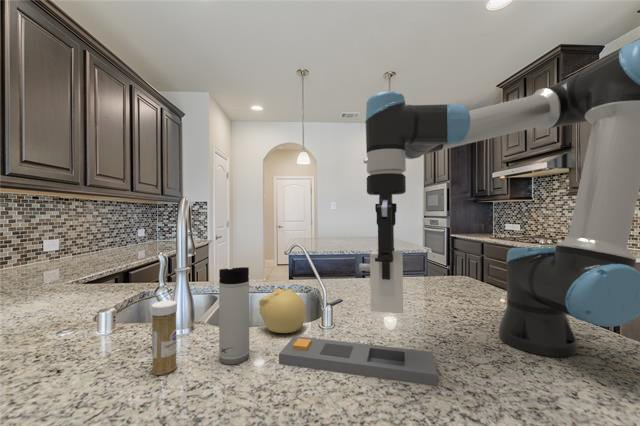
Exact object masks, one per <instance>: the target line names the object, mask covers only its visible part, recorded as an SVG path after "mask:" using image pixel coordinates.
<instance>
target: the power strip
mask: <svg viewBox="0 0 640 426" xmlns="http://www.w3.org/2000/svg"><path fill="white" fill-rule="evenodd" d="M434 357H435V355H434V352H433V351H429V350H428V351H427V350H418V349H410V348H403V347H402V348H401V347H394V346H385V345H375V344H368V343H367V344H366V343H358V342H348V341H341V340H332V339H323V338H314V337H305V336H299V335H298V336H296V335H294V336H293V337H292V338H291V339H290V340H289V342H287V344H286V345H285V346H284V347H283V348H282V349H281V351H280V352H279V353H278V365H285V366H292V367H298V368H307V369H313V370H319V371H320V370H321V371H327V372H334V373H341V374H347V375H355V376H361V377H368V378H375V379H381V380H389V381H395V382H403V383H411V384H417V385H424V386H425V385H426V386H429V387H430V386H431V387H438V372H437V366H436V361H435V358H434Z"/></svg>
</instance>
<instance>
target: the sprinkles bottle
mask: <svg viewBox="0 0 640 426" xmlns="http://www.w3.org/2000/svg"><path fill="white" fill-rule="evenodd" d="M177 305H178V304H177V302H176V301H175V300H170V299H169V300H161V301H157V302H155V303H152V304H151V308H150V314H151V318H152V321H151V323H152V324H151V325H152V326H151V356H152V357H151V358H152V364H151V365H152V369H151V373H152V374H153V375H156V376H157V375H158V376H163V375H168V374H170V373H171V372H173V371H175V370H176V369H177V367H178V364H177V311H178V306H177Z"/></svg>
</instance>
